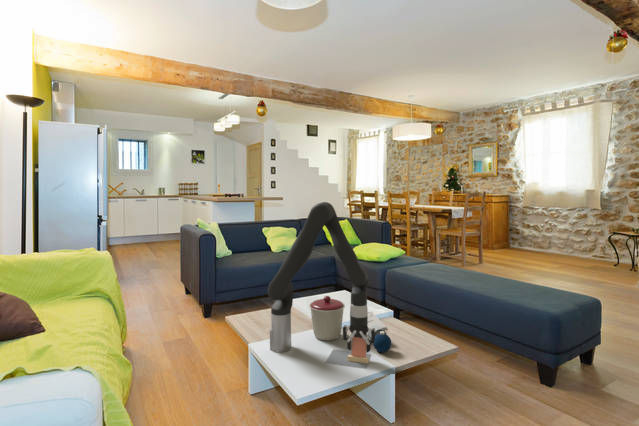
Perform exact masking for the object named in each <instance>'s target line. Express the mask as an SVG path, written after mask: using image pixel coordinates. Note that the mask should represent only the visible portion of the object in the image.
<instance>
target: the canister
mask: <svg viewBox="0 0 639 426" xmlns="http://www.w3.org/2000/svg"><path fill="white" fill-rule="evenodd" d="M308 307H309V308H310V314H311V322H312V323H311V324H312V331H313V335H314V337H316V339H317V340H320V341H327V342H328V341H334V340H336V339H338V338H340V336H341V333H342V329H343V327H342V326H343V317H344V316H343V315H344V309H345V307H346V304H345V303H344V302H342V301H341V300H338V299H334V298H331V296H329V295H325V296H324V297H323V298H318V299H316V300H313V301H312V302H310V303H309V305H308Z"/></svg>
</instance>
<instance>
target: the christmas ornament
mask: <svg viewBox="0 0 639 426" xmlns="http://www.w3.org/2000/svg"><path fill="white" fill-rule="evenodd" d="M386 334H387V333H386ZM386 334H384V331H380V334H377V335H376V336H375V341H374V344H372V345H373V348H374V349H375V350H376V351H377V352H379V353H386V352H388V351H390V349H391V347H392V340H391V337H390V336H389V335H388V334H387V335H386Z"/></svg>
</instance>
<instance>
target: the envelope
mask: <svg viewBox="0 0 639 426" xmlns="http://www.w3.org/2000/svg"><path fill="white" fill-rule="evenodd" d="M372 325H376V326H379V327H380V328H382V329H383V330H385V331H386V330H387V326H386V325H385V324H384V323H383V322H382V321H381V320H380V319H379V317H378V316H377V315H376V314H375V313H374V312H373V311H368V328H369V327H371V326H372Z"/></svg>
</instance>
